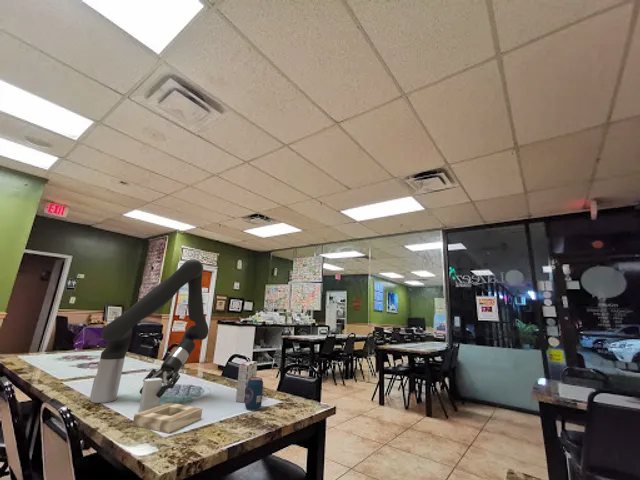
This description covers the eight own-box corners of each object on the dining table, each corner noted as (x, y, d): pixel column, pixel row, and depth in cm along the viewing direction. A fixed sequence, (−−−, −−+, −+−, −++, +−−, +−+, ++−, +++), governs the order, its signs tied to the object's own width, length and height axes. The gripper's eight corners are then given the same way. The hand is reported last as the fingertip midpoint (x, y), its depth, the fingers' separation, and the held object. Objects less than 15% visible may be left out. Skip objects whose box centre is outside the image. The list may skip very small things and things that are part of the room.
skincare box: (154, 409, 120) (160, 377, 123) (157, 412, 117) (163, 379, 120) (137, 411, 116) (143, 379, 119) (140, 414, 113) (146, 381, 116)
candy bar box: (245, 396, 146) (248, 360, 150) (254, 397, 145) (258, 361, 149) (234, 402, 135) (238, 363, 139) (244, 403, 134) (248, 364, 138)
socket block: (132, 425, 103) (134, 414, 104) (167, 412, 117) (169, 402, 118) (168, 433, 98) (170, 421, 99) (201, 418, 113) (202, 408, 113)
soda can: (241, 407, 128) (244, 377, 131) (254, 405, 132) (257, 376, 135) (250, 412, 123) (253, 380, 126) (264, 408, 128) (266, 378, 131)
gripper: (159, 353, 131) (131, 387, 118) (185, 356, 127) (159, 391, 114) (166, 364, 135) (139, 398, 121) (191, 367, 131) (167, 403, 117)
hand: (149, 395), depth 118 cm, fingers open, 8 cm apart
